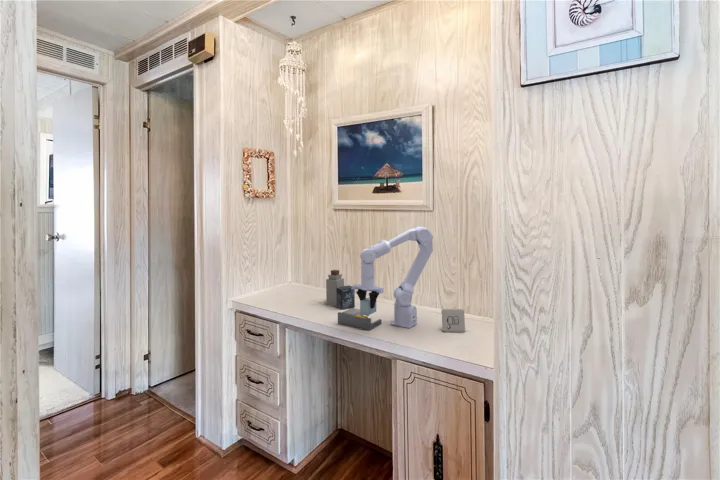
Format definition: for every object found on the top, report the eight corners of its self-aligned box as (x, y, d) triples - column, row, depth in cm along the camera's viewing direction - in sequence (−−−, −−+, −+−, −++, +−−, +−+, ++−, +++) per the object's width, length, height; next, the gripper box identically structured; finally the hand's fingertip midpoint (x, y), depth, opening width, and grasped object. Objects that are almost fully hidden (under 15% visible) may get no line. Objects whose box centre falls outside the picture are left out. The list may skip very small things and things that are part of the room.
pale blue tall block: (376, 311, 164) (376, 298, 164) (368, 315, 159) (367, 302, 158) (368, 310, 167) (368, 297, 166) (360, 314, 161) (360, 300, 160)
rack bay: (381, 323, 164) (381, 311, 164) (369, 330, 156) (369, 318, 155) (350, 317, 174) (350, 306, 173) (337, 323, 165) (337, 311, 164)
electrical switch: (442, 332, 154) (442, 310, 153) (440, 329, 159) (440, 307, 159) (465, 332, 153) (465, 310, 153) (462, 329, 158) (462, 307, 158)
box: (342, 310, 185) (341, 289, 184) (336, 307, 190) (335, 287, 189) (355, 307, 190) (354, 287, 188) (349, 304, 194) (349, 285, 193)
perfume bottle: (344, 303, 197) (344, 270, 195) (337, 306, 191) (336, 272, 189) (334, 301, 201) (333, 268, 199) (326, 304, 195) (325, 270, 193)
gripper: (348, 276, 161) (349, 306, 163) (377, 280, 153) (377, 312, 155) (357, 273, 167) (358, 302, 169) (385, 277, 159) (385, 307, 161)
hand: (368, 307), depth 162 cm, fingers closed on pale blue tall block, 4 cm apart
